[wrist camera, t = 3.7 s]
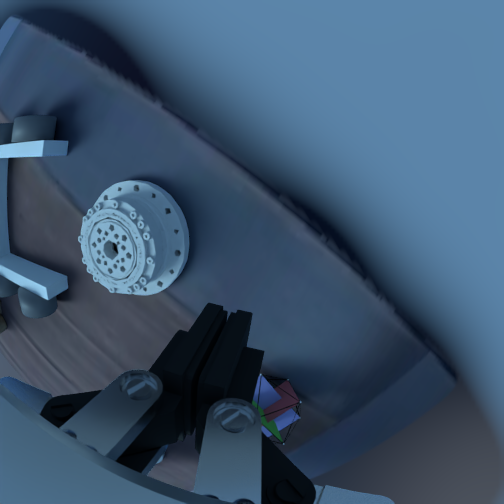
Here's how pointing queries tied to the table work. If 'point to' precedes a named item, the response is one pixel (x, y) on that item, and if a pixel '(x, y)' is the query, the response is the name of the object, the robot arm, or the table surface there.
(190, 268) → the table surface
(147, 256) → the mechanical component
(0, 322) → the wooden toy
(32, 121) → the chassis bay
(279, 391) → the geometric puzzle
